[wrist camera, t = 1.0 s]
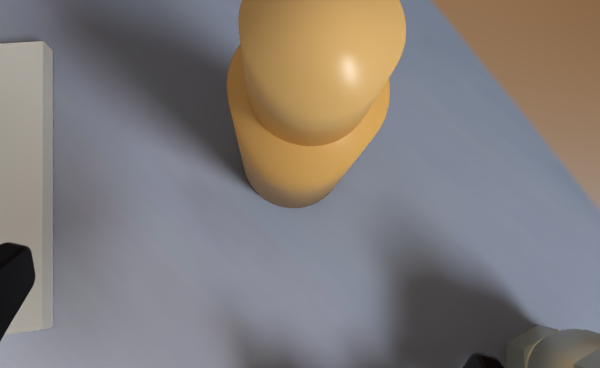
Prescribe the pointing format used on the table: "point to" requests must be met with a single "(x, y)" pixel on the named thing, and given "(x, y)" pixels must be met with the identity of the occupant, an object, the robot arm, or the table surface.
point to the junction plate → (28, 170)
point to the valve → (554, 349)
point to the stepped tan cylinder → (310, 90)
